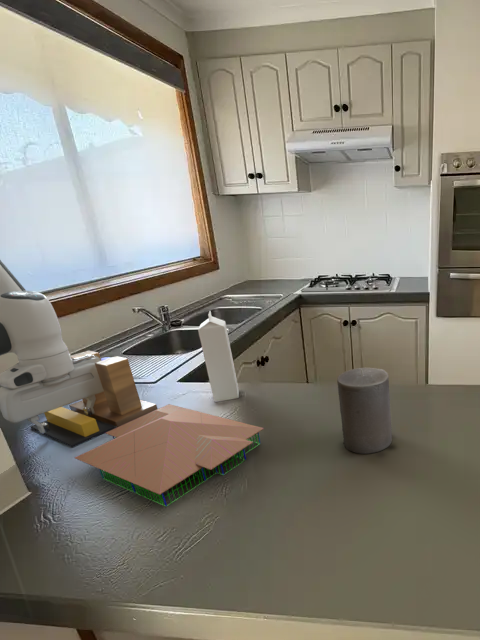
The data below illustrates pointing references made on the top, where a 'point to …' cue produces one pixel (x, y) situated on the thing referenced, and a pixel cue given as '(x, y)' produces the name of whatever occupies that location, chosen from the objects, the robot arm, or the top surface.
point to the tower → (115, 393)
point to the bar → (72, 421)
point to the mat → (71, 437)
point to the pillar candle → (365, 409)
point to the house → (169, 449)
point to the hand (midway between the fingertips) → (68, 422)
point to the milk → (218, 359)
